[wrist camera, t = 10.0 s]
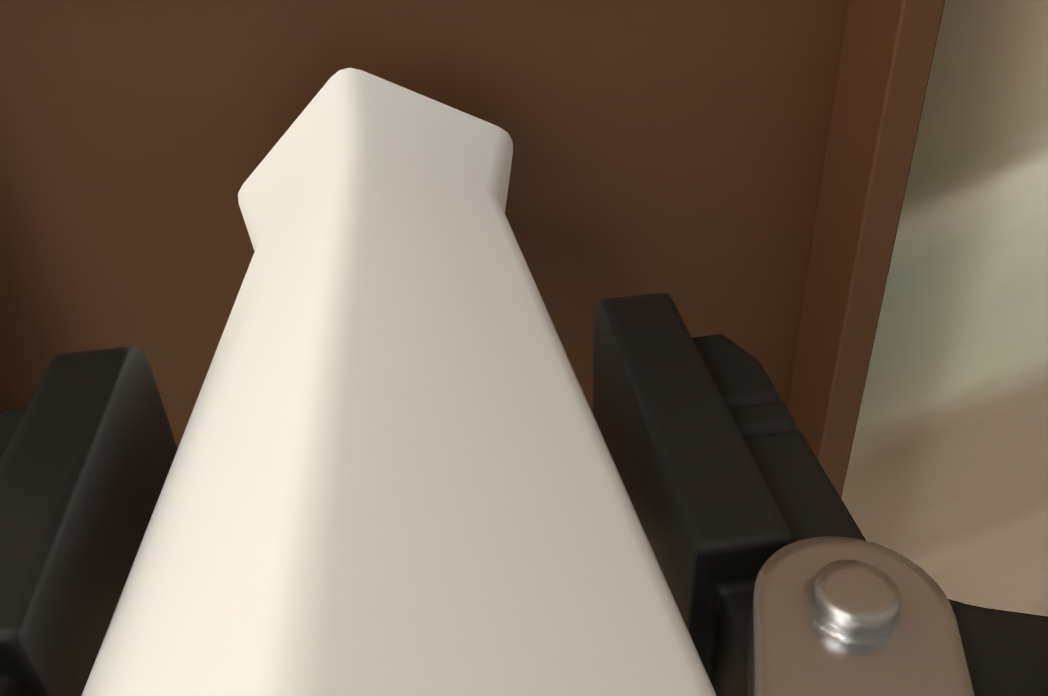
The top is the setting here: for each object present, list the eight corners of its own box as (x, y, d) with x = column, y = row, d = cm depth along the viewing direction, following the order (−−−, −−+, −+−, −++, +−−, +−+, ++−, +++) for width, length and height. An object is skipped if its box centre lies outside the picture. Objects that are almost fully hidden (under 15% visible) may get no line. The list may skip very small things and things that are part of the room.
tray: (25, 528, 18) (-13, 615, 16) (-384, -330, 10) (-539, -340, 8) (798, 437, 19) (840, 509, 17) (933, -383, 12) (1031, -402, 10)
